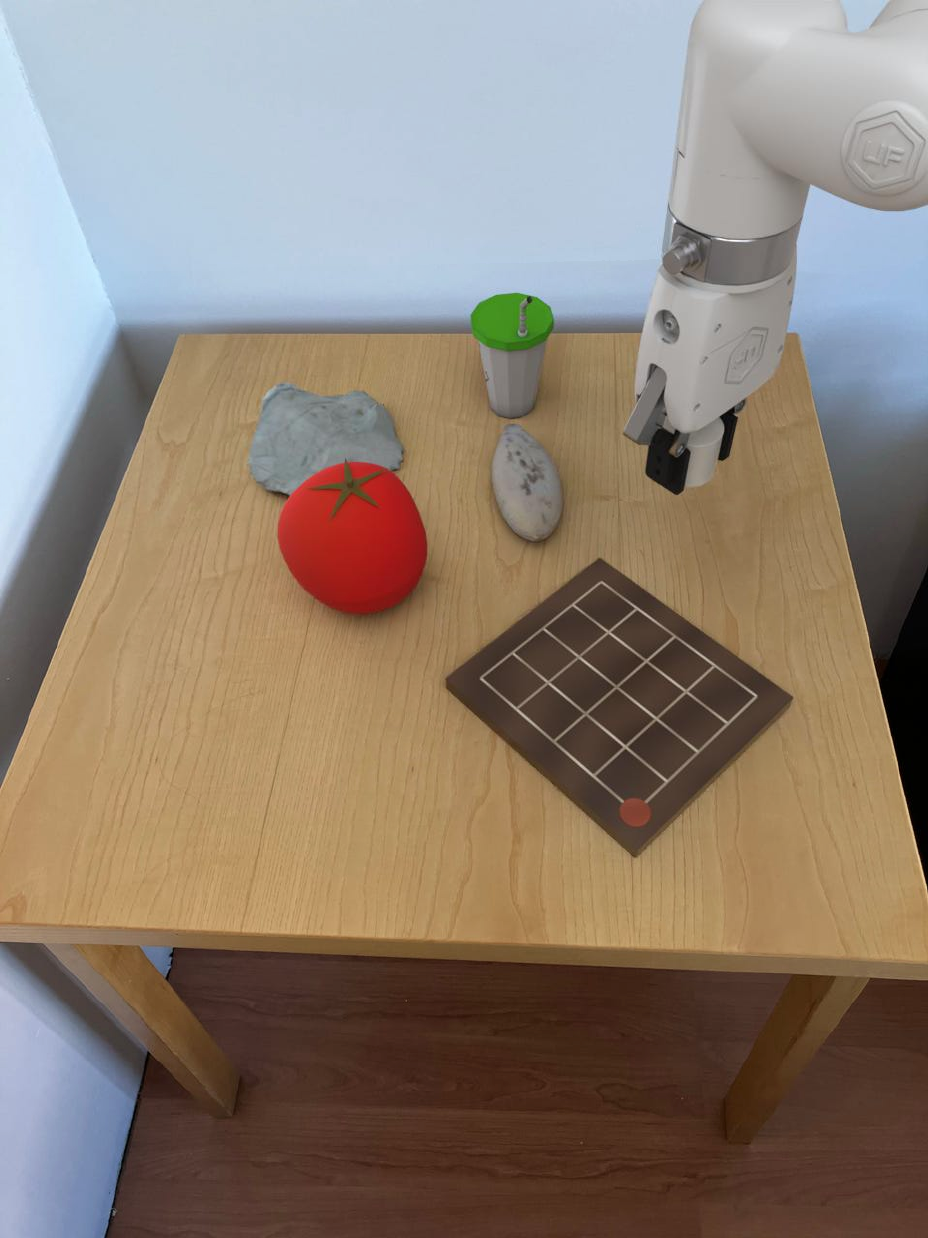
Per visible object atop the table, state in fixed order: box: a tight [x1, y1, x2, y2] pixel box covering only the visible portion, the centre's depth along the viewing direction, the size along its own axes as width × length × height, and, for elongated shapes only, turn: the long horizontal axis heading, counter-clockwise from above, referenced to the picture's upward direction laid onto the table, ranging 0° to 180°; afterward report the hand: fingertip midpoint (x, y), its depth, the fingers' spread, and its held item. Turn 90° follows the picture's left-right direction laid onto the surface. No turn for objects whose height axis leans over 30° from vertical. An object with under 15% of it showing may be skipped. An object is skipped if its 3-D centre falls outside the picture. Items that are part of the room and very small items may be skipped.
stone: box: [247, 381, 404, 497], centre depth 93 cm, size 16×4×15 cm
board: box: [445, 557, 794, 859], centre depth 75 cm, size 20×18×2 cm
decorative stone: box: [491, 423, 564, 542], centre depth 88 cm, size 6×16×3 cm, turn 10°
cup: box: [470, 292, 555, 420], centre depth 92 cm, size 8×8×15 cm
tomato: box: [276, 458, 428, 615], centre depth 79 cm, size 12×12×13 cm
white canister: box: [663, 416, 724, 489], centre depth 68 cm, size 4×4×4 cm
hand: (687, 464), depth 70 cm, fingers closed on white canister, 4 cm apart
